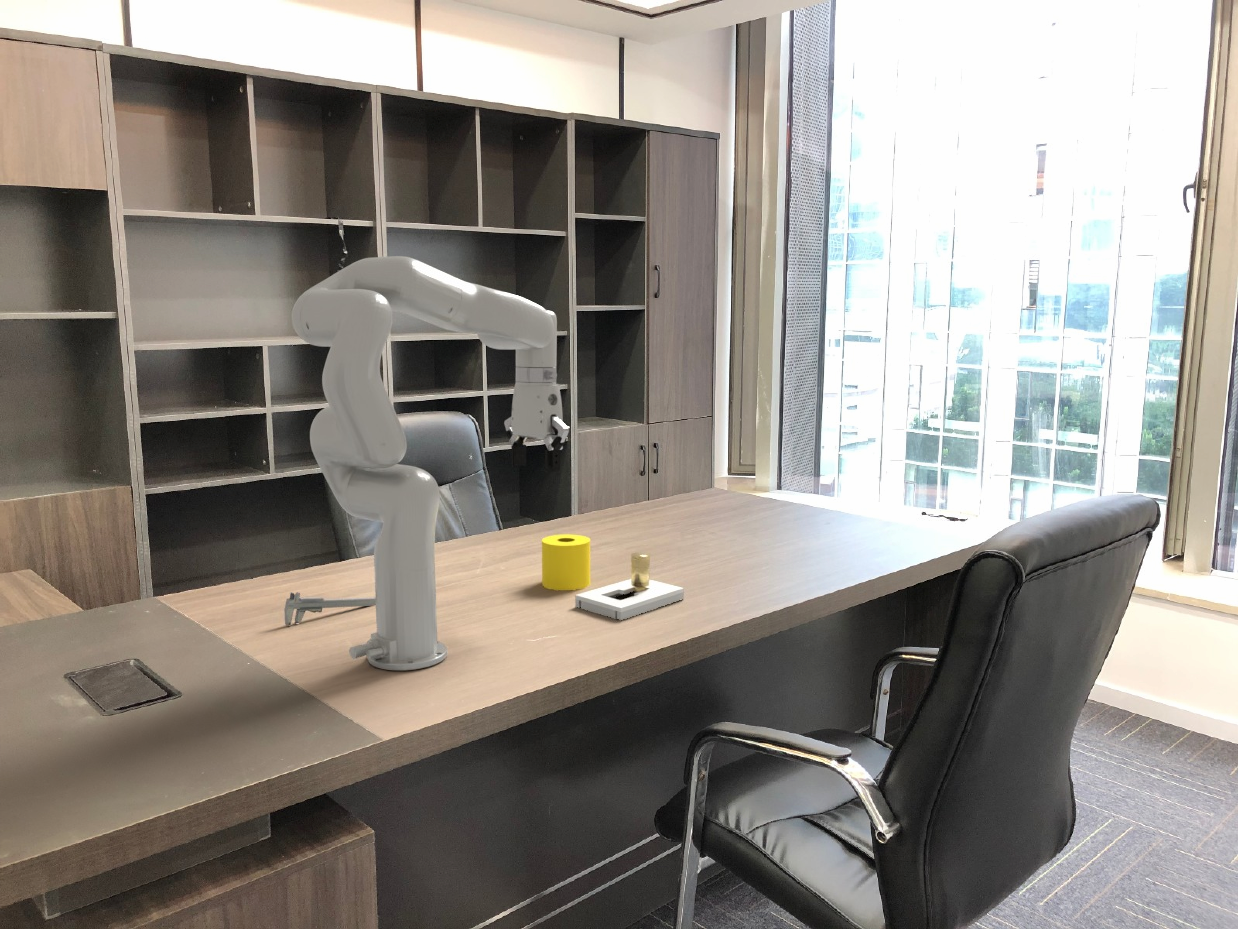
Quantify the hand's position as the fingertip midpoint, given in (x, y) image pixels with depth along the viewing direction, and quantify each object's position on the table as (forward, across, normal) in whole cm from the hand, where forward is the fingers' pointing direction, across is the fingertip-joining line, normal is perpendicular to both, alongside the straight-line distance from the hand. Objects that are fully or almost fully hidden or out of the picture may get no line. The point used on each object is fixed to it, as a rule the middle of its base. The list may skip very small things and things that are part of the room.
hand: (535, 468), depth 178 cm
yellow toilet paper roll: (+27, +8, -16) cm, 32 cm away
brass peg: (+26, -11, -18) cm, 34 cm away
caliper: (+28, +23, +28) cm, 46 cm away
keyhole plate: (+26, -11, -15) cm, 32 cm away
